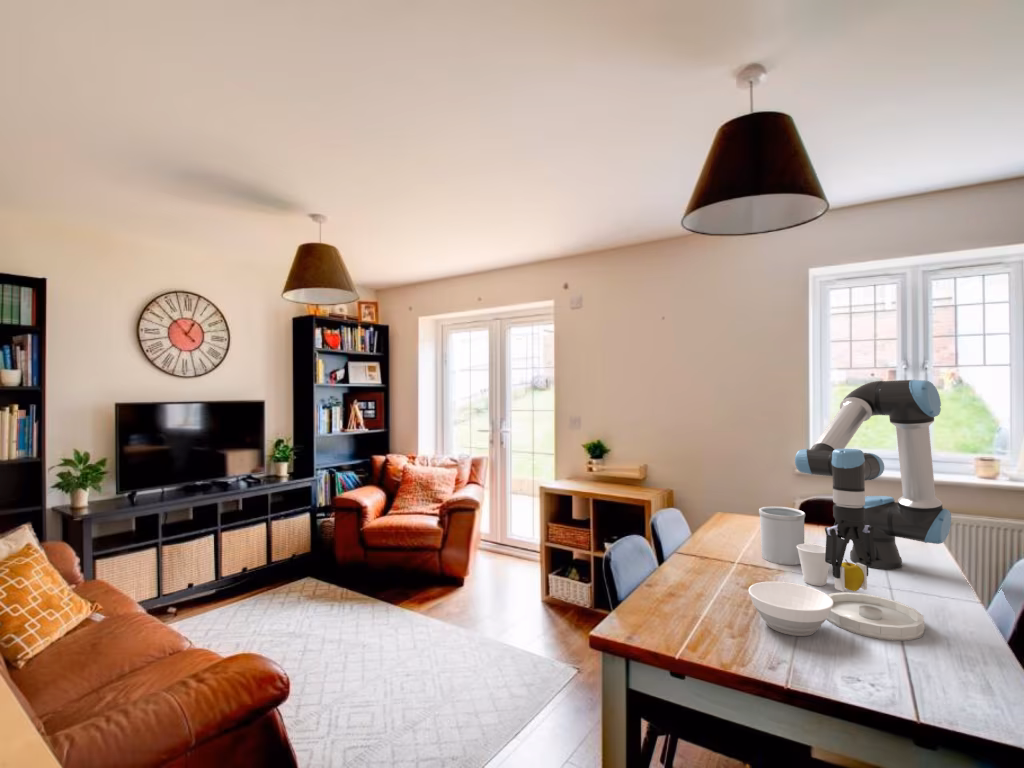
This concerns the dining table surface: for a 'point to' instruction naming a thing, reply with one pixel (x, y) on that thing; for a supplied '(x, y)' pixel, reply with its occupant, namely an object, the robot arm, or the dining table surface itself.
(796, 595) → the bowl
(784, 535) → the utensil holder
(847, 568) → the apple
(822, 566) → the cup
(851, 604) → the ring tray
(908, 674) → the dining table surface
